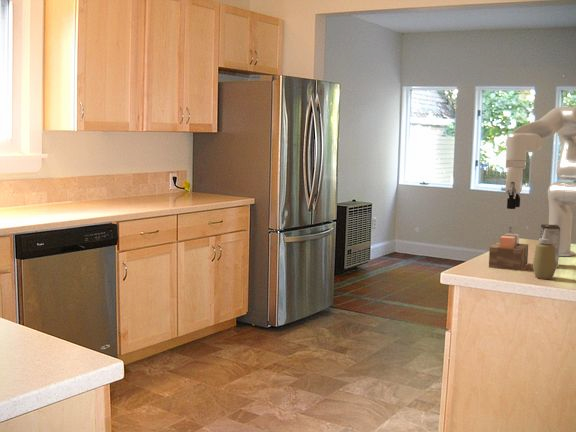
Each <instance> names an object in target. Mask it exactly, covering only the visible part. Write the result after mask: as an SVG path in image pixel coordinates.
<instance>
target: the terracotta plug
mask: <svg viewBox="0 0 576 432" xmlns="http://www.w3.org/2000/svg"><path fill="white" fill-rule="evenodd" d="M515 239H516V237H513V236H504V235H501V236H500V237H499V242H500V248H510V249H514V248H515Z"/></svg>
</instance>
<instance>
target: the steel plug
mask: <svg viewBox="0 0 576 432" xmlns="http://www.w3.org/2000/svg"><path fill="white" fill-rule="evenodd" d="M503 236H513V237H516V239H515V246H518V245H519V244H520V233H519V234H518V233H505V234H503Z"/></svg>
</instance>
